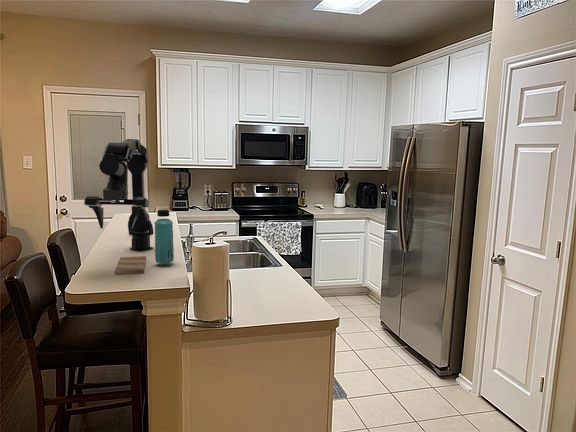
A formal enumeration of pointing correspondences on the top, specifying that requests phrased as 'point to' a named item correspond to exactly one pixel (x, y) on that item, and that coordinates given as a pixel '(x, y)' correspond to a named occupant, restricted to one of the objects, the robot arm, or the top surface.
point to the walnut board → (131, 265)
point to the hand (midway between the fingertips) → (116, 228)
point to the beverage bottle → (164, 238)
